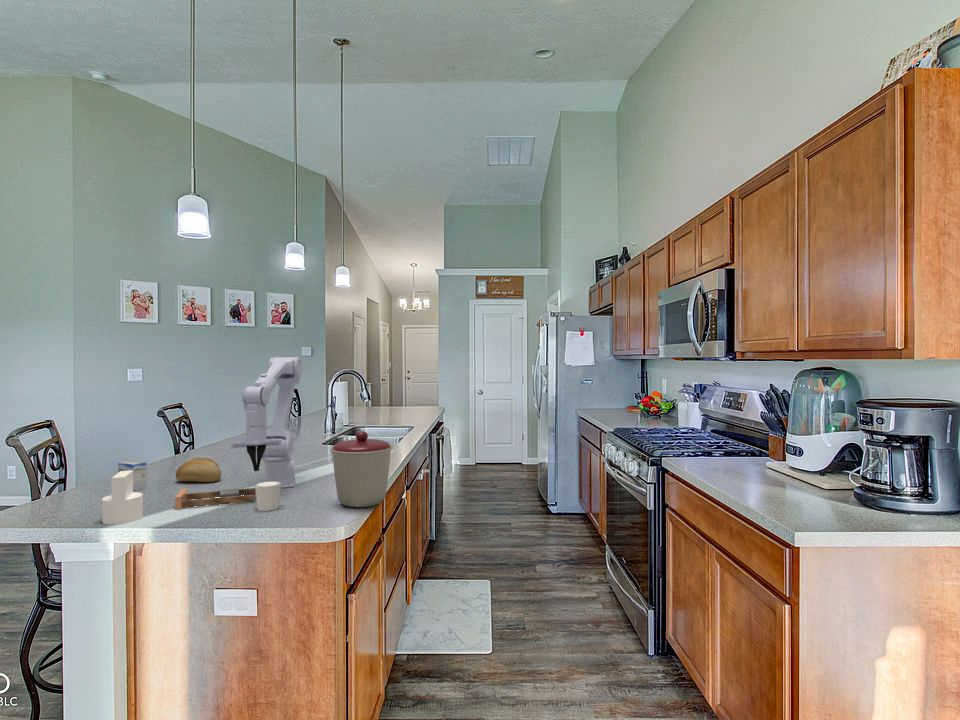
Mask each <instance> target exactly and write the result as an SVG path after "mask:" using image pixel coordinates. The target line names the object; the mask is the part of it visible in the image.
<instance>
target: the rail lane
mask: <svg viewBox="0 0 960 720" xmlns="http://www.w3.org/2000/svg"><path fill="white" fill-rule="evenodd" d="M220 491H221V490H216V491H215V490H214V491H204V492H203V491H202V492H201V491H200V492H189V493H188V488H187V487H186V488H181V489H180V490H179V491H178V493H177V494H176V495H175V498H174V501H175V502H174V504H175V505H174V506H175V507H174V509H178V510H182V509H181V508H184V509H187V508H186V507H194V506H206V505H218V506H220V505H219V504H229V505H231V504H230V503H240V504H243V503H242V502H251V503H255V496H256V490H255V487H252V488H251V487H250V488H239V496H232V497H221V498H215V497H220ZM241 495H242V496H241ZM243 495H244V496H243ZM202 498H209V499H202ZM191 499H197V500H191Z"/></svg>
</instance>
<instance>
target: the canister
mask: <svg viewBox="0 0 960 720" xmlns="http://www.w3.org/2000/svg"><path fill="white" fill-rule="evenodd" d="M393 448H394V446H393V444H391V443H390V442H388V441H386V440H382V439H377V438H376V439H375V438H374V439H373V438H369V434H368V433H367V431H365V430H362V431H361V430H360V431H357V432H356V433H355V439H348V440H347V439H346V440H343V441H340V442H336V443H334V444H333V446H331V447H330V448H329V451H330V452H331V454H332V464H333V473H334V480H335V481H334V482H335V488H336V495H337V499H338V501H339V502H340V504H341V505H343V506H346V507H348V508H349V507H350V508H368V507H373V506H376V505H377V506H378V504H381V503H382V502H383V501H384V499H385V498H386V496H387V495H386V494H387V490H388V489H387V488H388V480H389V474H390V473H389V471H390V462H391V451H392V450H393Z"/></svg>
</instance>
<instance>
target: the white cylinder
mask: <svg viewBox="0 0 960 720" xmlns="http://www.w3.org/2000/svg"><path fill="white" fill-rule="evenodd" d="M254 488H255V490H256V495H255V497H256V507H257V510H258V511H259V510H261V511H260V512H269V510H271V511H275V510H278V509H279V507H280V498H281V497H280V496H281V483H280V482H277V481H269V482H265V481H262V482H258V483H255V485H254ZM277 508H278V509H277ZM274 509H275V510H274Z"/></svg>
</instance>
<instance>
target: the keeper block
mask: <svg viewBox="0 0 960 720" xmlns="http://www.w3.org/2000/svg"><path fill="white" fill-rule="evenodd" d="M239 489H240V488H239V487H238V488H237V487H236V488H229V489H228V488H227V489H220V490H219V491H220V498H221V497H232V496H239Z"/></svg>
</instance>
